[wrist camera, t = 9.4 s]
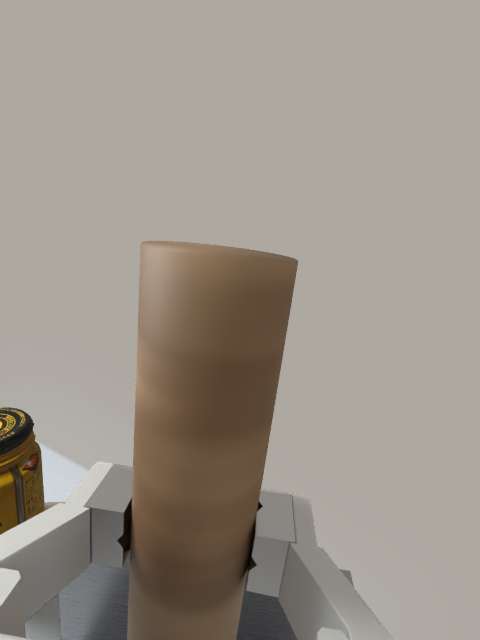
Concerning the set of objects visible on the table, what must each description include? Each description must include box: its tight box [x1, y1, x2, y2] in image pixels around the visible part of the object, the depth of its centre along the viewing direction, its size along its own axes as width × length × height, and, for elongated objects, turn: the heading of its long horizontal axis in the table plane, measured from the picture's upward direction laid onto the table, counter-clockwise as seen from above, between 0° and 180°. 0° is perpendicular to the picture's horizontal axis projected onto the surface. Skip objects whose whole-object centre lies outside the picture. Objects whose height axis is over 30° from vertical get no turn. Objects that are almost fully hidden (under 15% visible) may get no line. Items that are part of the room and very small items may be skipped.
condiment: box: [0, 408, 66, 535], centre depth 26 cm, size 7×8×12 cm
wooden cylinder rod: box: [127, 241, 298, 640], centre depth 9 cm, size 3×3×16 cm
